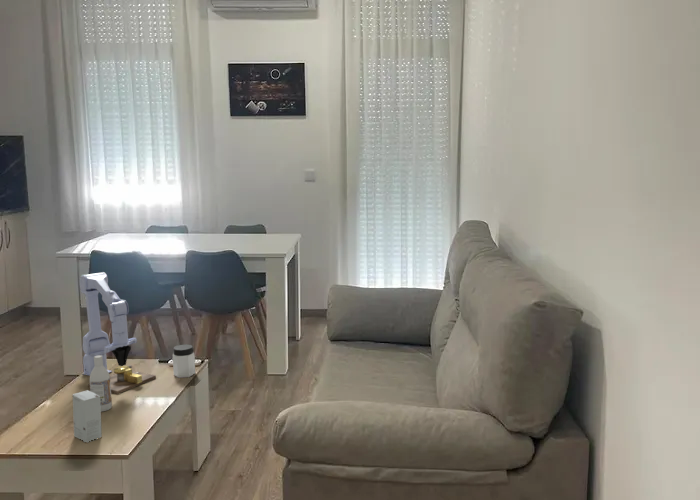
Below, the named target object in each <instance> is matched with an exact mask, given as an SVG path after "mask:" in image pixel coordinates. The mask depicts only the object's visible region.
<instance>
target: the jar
mask: <svg viewBox="0 0 700 500" xmlns="http://www.w3.org/2000/svg"><path fill="white" fill-rule="evenodd" d="M172 349H173V350H172V366H173V367H172V369H173V376H175V377H176V378H178V379H179V378H190V377H191V376H193V374H194V375H195V374H196V363H195V362H196V358H195V352H194V345H192V344H186V343H185V344H177V345H175V346H173V348H172Z"/></svg>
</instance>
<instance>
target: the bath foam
mask: <svg viewBox="0 0 700 500" xmlns="http://www.w3.org/2000/svg"><path fill="white" fill-rule="evenodd" d="M94 365H95V367H94V368H93V370H92V372H91V374H90V376H89V384H90V387H89V388H90V390H89V391H91V392H93V393H95V394H96V395H98V396H100V405H101V413H102V412H105V411H109V410H111V409H112V407H113V401H112V398H113V397H112V393H111V385H110V376H111V375H110V373H109V372H108V371H107V370H108V368H107V369H106V368H105V367H104V366H103V360H102V356H101V355H97V356H94Z"/></svg>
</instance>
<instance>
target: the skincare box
mask: <svg viewBox="0 0 700 500" xmlns="http://www.w3.org/2000/svg"><path fill="white" fill-rule="evenodd" d="M72 413H73V414H72V415H73V416H72V418H73V436H74V437H75V438H76V439H79V440H80V439H81V440H80V441H82V440H83V443H85V442H87V443H90V442H92V441H91V440H93V441H95V440H94V439H96V440H98V439H97V438H99V439H101V438H100V437H102V433H103V432H102V412H101V405H100V396H98V395H96V394H95V393H93V392H91V390H88V389H86V390H83V391H80V392H76V393H72ZM89 441H90V442H89Z"/></svg>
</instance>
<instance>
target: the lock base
mask: <svg viewBox="0 0 700 500" xmlns="http://www.w3.org/2000/svg"><path fill="white" fill-rule="evenodd" d="M128 366H129V369H132V373H133V374H138V375H142V382H141V383H139V384H136V383H131V382H127V381H124V374H115V373H114V374H111V375H110V385H111V394H116V395H119V394H121V393H124V392H126V391H129V390H131V389H134V388H135V387H138V386H141V385H143V384H145V383H147V382H150V381H153V380H155V379H156V378H157V376H156V375H154V374H151V373H150V374H149V373H146V372H140V371H136V370H133V365H130V364H129V365H128ZM87 387H88V388H90V383H87Z"/></svg>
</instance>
